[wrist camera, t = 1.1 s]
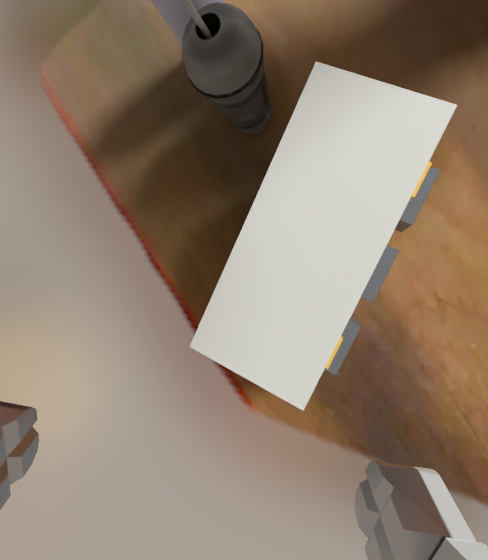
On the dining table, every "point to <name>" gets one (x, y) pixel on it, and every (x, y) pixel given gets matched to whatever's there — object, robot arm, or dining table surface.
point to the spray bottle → (178, 13)
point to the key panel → (319, 228)
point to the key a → (344, 344)
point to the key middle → (379, 273)
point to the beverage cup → (227, 63)
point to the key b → (417, 200)
